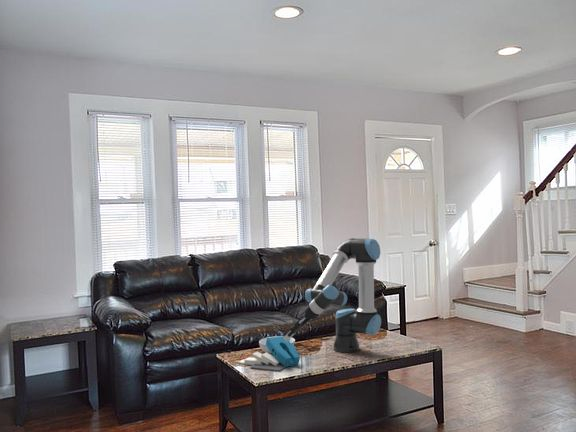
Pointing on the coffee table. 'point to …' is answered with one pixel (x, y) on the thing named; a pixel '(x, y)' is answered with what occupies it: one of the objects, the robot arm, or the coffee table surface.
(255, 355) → the domino
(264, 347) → the serving bowl
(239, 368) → the coffee table surface
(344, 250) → the robot arm
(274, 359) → the domino
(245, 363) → the domino
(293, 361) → the block
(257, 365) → the domino mat
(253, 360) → the domino
